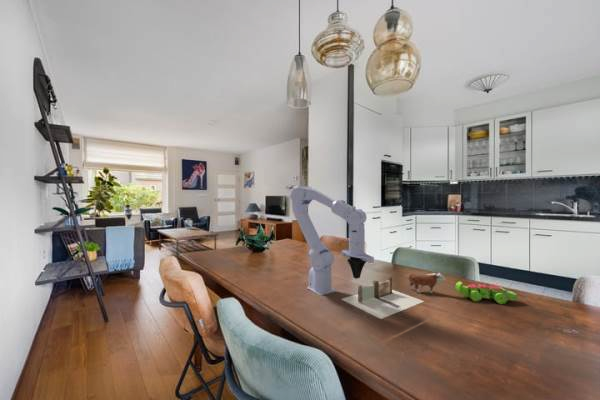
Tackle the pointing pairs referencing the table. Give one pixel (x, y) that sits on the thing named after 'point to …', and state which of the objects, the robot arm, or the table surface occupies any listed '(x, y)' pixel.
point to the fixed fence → (382, 287)
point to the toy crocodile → (485, 292)
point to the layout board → (384, 303)
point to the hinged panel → (365, 293)
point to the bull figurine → (425, 280)
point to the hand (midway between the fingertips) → (356, 277)
